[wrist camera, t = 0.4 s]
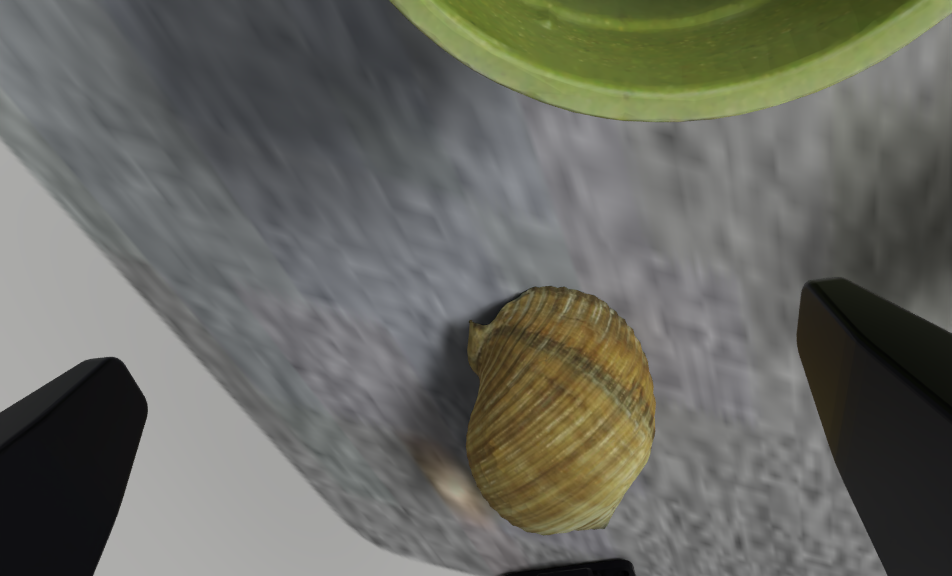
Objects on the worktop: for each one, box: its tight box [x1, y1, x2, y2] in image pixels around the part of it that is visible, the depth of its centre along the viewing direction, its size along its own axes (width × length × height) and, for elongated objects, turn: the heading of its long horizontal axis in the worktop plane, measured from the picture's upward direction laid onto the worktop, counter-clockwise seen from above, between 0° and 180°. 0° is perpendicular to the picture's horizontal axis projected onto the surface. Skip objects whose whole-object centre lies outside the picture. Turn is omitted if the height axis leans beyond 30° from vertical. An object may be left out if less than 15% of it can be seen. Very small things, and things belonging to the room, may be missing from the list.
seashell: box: [466, 286, 656, 535], centre depth 26 cm, size 10×7×8 cm
